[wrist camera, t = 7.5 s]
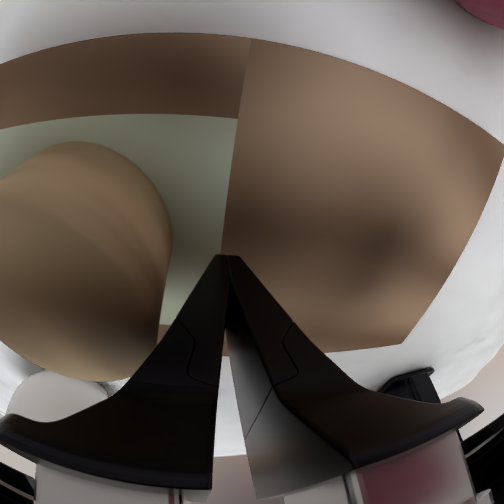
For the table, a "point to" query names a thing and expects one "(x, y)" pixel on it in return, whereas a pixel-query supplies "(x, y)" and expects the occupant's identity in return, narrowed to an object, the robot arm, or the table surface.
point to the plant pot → (486, 10)
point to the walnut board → (272, 168)
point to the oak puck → (82, 262)
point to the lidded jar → (54, 396)
